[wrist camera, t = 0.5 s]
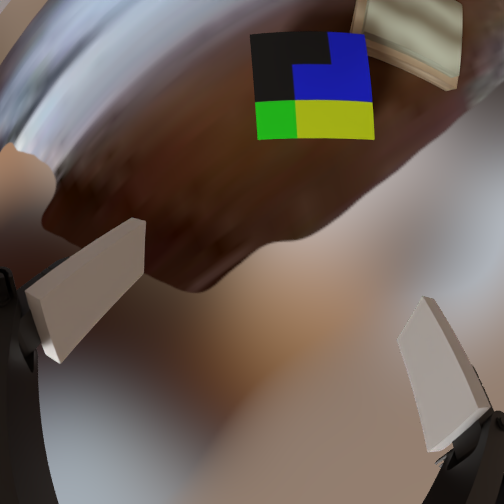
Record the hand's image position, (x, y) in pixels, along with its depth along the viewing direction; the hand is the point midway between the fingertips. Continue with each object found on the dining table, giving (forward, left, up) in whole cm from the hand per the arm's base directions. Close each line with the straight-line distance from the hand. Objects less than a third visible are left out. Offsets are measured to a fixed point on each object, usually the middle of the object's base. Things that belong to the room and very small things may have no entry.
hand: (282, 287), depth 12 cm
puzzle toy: (-11, -1, -24) cm, 26 cm away
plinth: (-26, +9, -24) cm, 36 cm away
